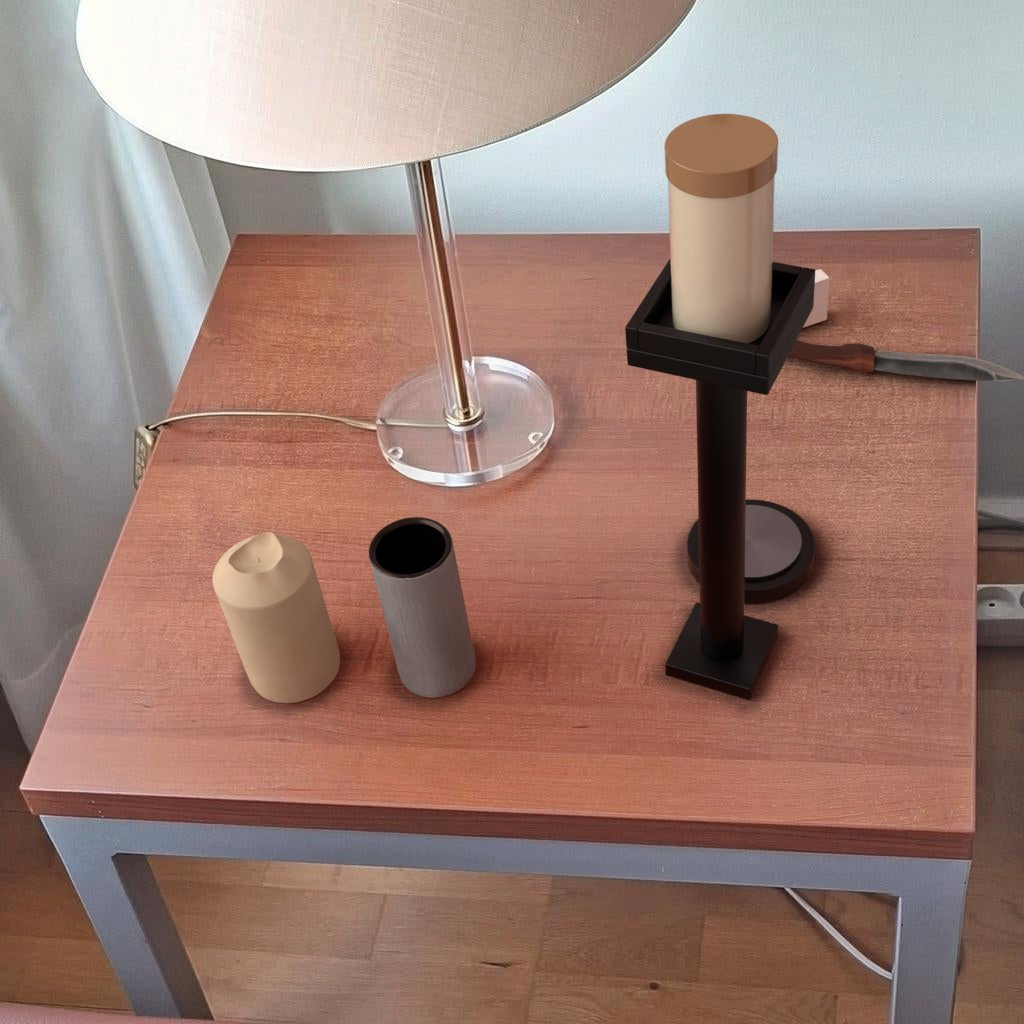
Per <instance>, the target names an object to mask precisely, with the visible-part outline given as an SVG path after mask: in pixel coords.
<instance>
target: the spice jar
mask: <svg viewBox="0 0 1024 1024" xmlns="http://www.w3.org/2000/svg"><path fill="white" fill-rule="evenodd" d="M663 147H664V148H663V150H664V171H665V176H666V178H667V198H668V199H667V200H668V228H669V230H668V231H669V250H670V251H669V259H670V261H671V292H672V321H673V326H674V328H675V329H678V330H683V331H688V332H693V333H698V334H703V335H708V336H713V337H718V338H723V339H727V340H732V341H737V342H742V343H747V344H749V343H751V342H753V341H755V340H756V339H758V338H759V337H760V336H762V335H763V334H764V333H765V332H766V330H767V329H768V327H769V325H770V321H771V297H772V262H774V261H773V259H774V257H773V256H774V227H775V225H774V224H775V223H774V221H775V185H776V174H777V172H778V166H779V164H778V163H779V137H778V135H777V132H776V131H775V130H774V129H773V127H772V126H770V124H768V123H766V122H764V121H763V120H760V119H758V118H755V117H752V116H749V115H744V114H737V113H714V114H707V115H702V116H698V117H695V118H691V119H689V120H687V121H684V122H683V123H681V124H678V125H677V126H676V127H675V128H673V129H672V130H671V131H670V132H669V133H668V135H667V136H666V138H665V140H664V145H663Z"/></svg>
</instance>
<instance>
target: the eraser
mask: <svg viewBox="0 0 1024 1024" xmlns="http://www.w3.org/2000/svg"><path fill="white" fill-rule="evenodd" d="M829 291H830V277H829V276H828V275H827V274H826V273H825V272H824V271H823V270H822V269H821V268H819V269H815V287H814V304H813V309H812V311H811V313H810V315H809V317H808V319H807V321H806V323H805V324H804V326H803V328H806V327H807V328H808V327H809V326H812V325H815V324H818V323H821V322H824V321H826V320H828V307H829V293H830V292H829ZM803 328H802V329H803Z"/></svg>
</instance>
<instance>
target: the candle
mask: <svg viewBox="0 0 1024 1024" xmlns="http://www.w3.org/2000/svg"><path fill="white" fill-rule="evenodd" d="M212 585H213V589H214V592H215V595H216V597H217V600H218V602H219V605H220V607H221V611H222V613H223V615H224V619H225V621H226V624H227V626H228V628H229V632H230V634H231V637H232V639H233V642H234V644H235V647H236V649H237V652H238V655H239V658H240V660H241V662H242V666H243V668H244V670H245V673H246V675H247V678H248V680H249V682H250V685H251V686H252V687H253V689H254V690H255V691H256V693H257V694H258V695H260V696H261V697H262V698H264V699H266V700H268V701H271V702H273V703H279V704H294V703H295V704H296V703H299V702H304V701H306V700H309V699H311V698H313V697H315V696H317V695H319V694H320V693H322V692H323V691H325V689H327V688H328V687H330V685H331V684H332V682H333V681H334V680H335V678H336V676H338V675H337V674H338V672H339V669H340V666H341V654H340V653H341V652H340V648H339V645H338V641H337V637H336V634H335V630H334V628H333V625H332V621H331V618H330V614H329V612H328V608H327V604H326V601H325V599H324V598H325V597H324V595H323V592H322V588H321V584H320V581H319V579H318V576H317V571H316V569H315V566H314V561H313V558H312V556H311V552H310V550H309V549H308V547H307V546H306V545H305V544H304V543H303V542H302V541H300V540H299V539H298V538H295V537H293V536H289V535H286V534H280V533H274V532H272V531H266V532H262V533H259V534H256V535H252V536H249V537H247V538H244V539H242V540H240V541H238V542H237V543H235V544H234V545H233V546H231V547H230V548H229V549H227V550H226V552H224V554H222V556H221V557H220V558H219V560H218V561H217V562H216V564H215V566H214V569H213V572H212Z"/></svg>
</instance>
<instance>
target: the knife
mask: <svg viewBox="0 0 1024 1024" xmlns="http://www.w3.org/2000/svg"><path fill="white" fill-rule="evenodd" d="M788 357H791V358H794V359H798V360H803V361H807V362H812V363H816V364H824V365H828V366H838V367H845V368H847V369H851V370H854V371H857V372H859V373H873V372H874V371H880V372H885V373H893V374H901V375H908V376H916V377H924V378H925V377H926V378H934V379H935V378H936V379H945V380H946V379H947V380H960V381H978V382H979V381H980V382H1006V381H1007V382H1009V381H1024V375H1021V374H1020V373H1017V372H1015V371H1013V370H1011V369H1009V368H1006V367H1004V366H1001V365H998V364H996V363H993V362H990V361H988V360H984V359H981V358H978V357H977V358H976V357H974V356H968V355H955V354H933V353H931V354H929V353H914V352H913V353H912V352H903V351H902V352H901V351H891V350H890V351H889V350H883V349H878V350H877V349H876V350H875V348H874V346H870V345H867V344H863V343H860V342H859V343H844V344H842V345H825V344H815V343H810V342H805V341H801V340H798V339H797V340H796V342H795V344H794V346H793V348H792V349H791V351H790V353H789V355H788Z"/></svg>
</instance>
